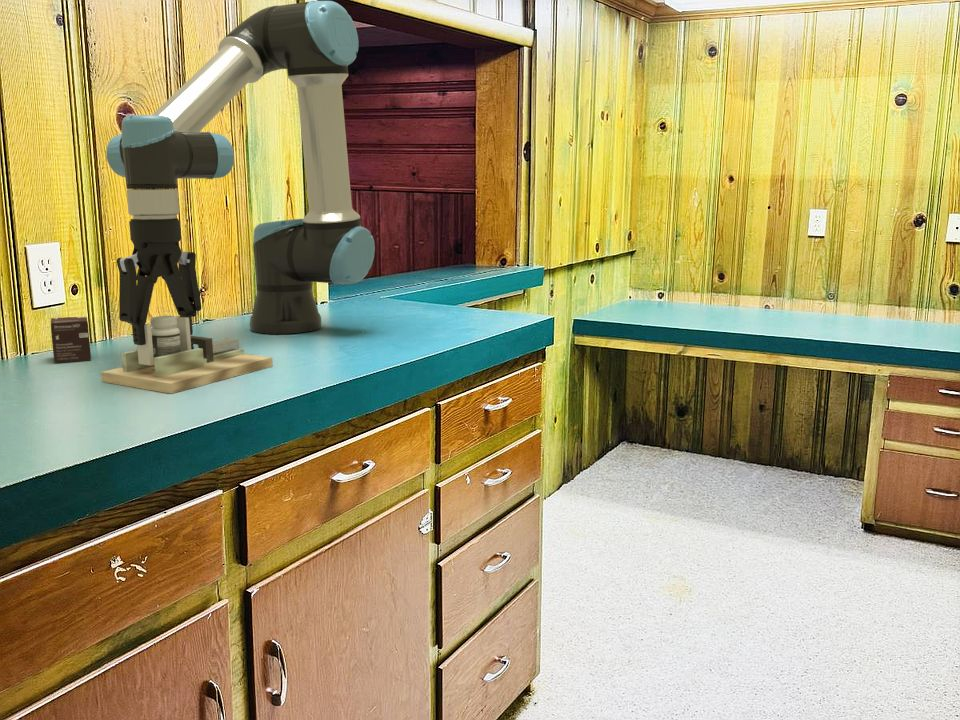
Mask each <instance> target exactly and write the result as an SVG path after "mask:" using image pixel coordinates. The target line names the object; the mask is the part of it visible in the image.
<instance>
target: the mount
mask: <svg viewBox="0 0 960 720" xmlns="http://www.w3.org/2000/svg"><path fill="white" fill-rule="evenodd" d="M190 337H191V350H187V351H183V352H178V353H174V354H169V355H165V356H160V357H156V358H154V366H155V370H154V369H152V365H151V366H149V365H143V364H139V361H138V349H136V350H130V351H125V352H121V363H122V366H121V367H117V368H113V369H108V370H104V371H101V372H100V373H101V382H103V383H107V384H114V385H120V386H123V387H124V386H126V387H131V388H135V389H143V390H147V391H154V392H160V393H165V394H171V395H172V394H175V393H179V392H183V391H187V390H190V389H194V388H197V387H201V386H205V385H209V384H211V383H212V384H213V383H216V382H219V381H220V382H221V381H224V380H227V379H230V378H234V376H235V377H238V375H239V376H242V374H243V375H246V374H249V373H253V372H257V371H260V370H261V371H262V370H265V369H268V368H272V367H273V365H274V364H273V363H274V362H273V357H272V356H265V355H257V354H249V353H245V352H244V351H245V350H244V349H240V348H239V349H238V350H234V351H230V352H226V353H221V354H217V355H213V344H212V342H213V338H212V337H203V336H196V335H190ZM194 345H197V346H198V345H201V346H202V348H198V347H197V348H194ZM271 366H272V367H271Z"/></svg>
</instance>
